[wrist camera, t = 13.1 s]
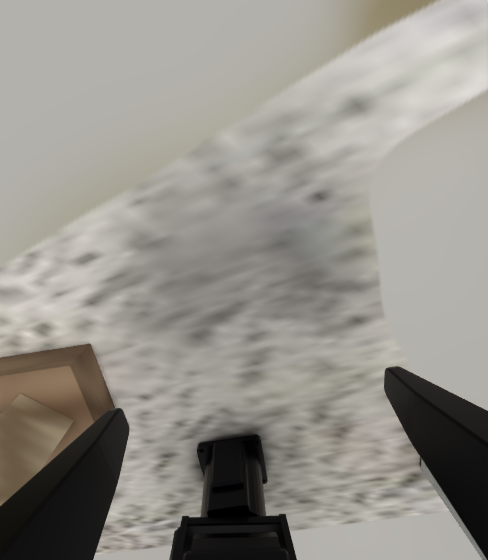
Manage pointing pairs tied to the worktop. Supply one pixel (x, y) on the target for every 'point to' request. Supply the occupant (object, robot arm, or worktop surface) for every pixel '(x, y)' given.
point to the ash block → (27, 441)
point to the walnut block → (58, 386)
